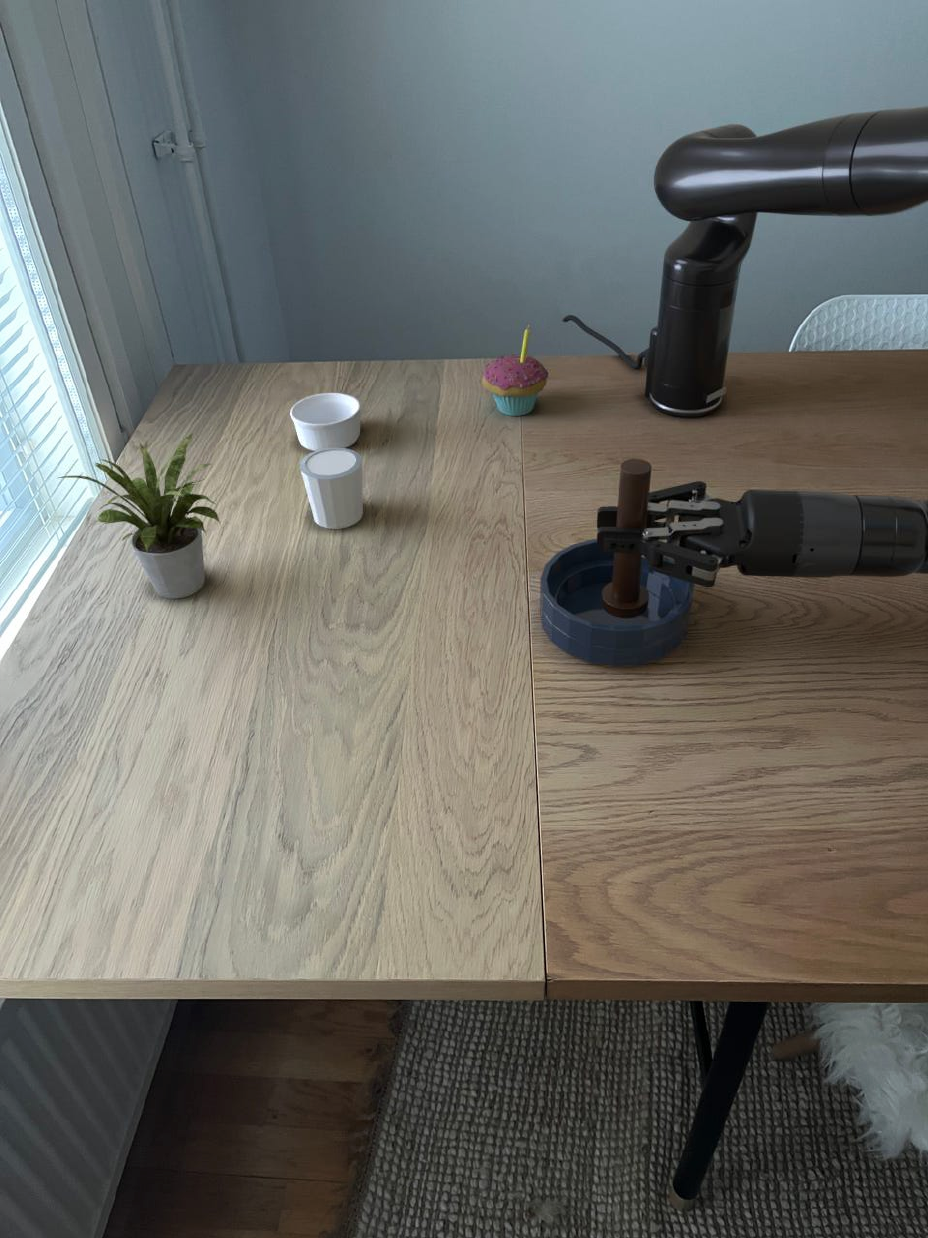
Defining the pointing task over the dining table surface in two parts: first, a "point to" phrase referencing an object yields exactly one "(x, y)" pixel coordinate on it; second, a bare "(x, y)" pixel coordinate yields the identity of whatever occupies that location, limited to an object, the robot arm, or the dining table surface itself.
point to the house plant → (162, 523)
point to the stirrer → (626, 588)
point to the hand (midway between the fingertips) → (598, 528)
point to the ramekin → (327, 421)
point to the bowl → (594, 632)
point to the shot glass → (334, 486)
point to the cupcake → (515, 381)
